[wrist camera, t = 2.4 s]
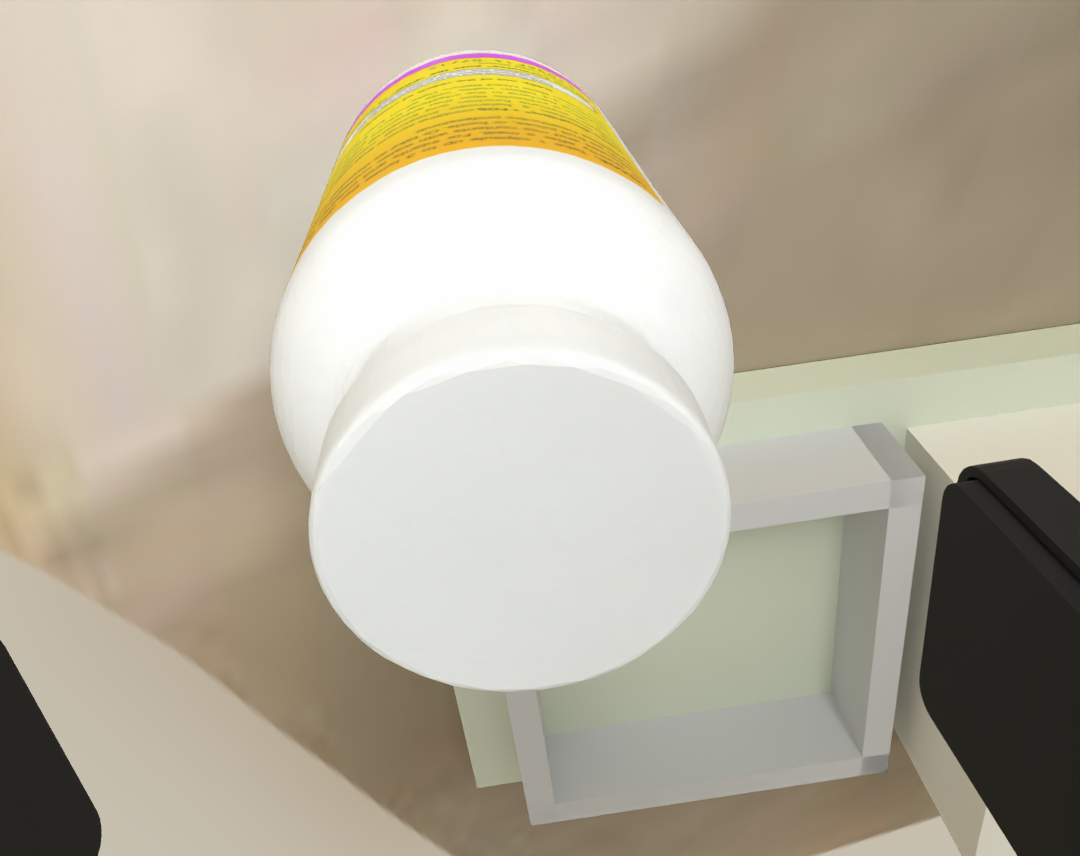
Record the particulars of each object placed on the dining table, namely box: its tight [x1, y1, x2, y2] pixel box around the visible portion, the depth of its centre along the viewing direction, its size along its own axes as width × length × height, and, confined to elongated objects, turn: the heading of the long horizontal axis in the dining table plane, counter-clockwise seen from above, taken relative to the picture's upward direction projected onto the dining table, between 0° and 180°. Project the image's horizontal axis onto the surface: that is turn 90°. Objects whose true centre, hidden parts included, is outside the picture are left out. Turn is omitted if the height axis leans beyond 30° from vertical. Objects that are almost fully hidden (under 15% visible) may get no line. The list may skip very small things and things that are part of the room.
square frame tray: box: [453, 324, 1080, 856], centre depth 24 cm, size 22×13×8 cm, turn 97°
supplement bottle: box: [270, 50, 734, 692], centre depth 15 cm, size 7×7×13 cm
